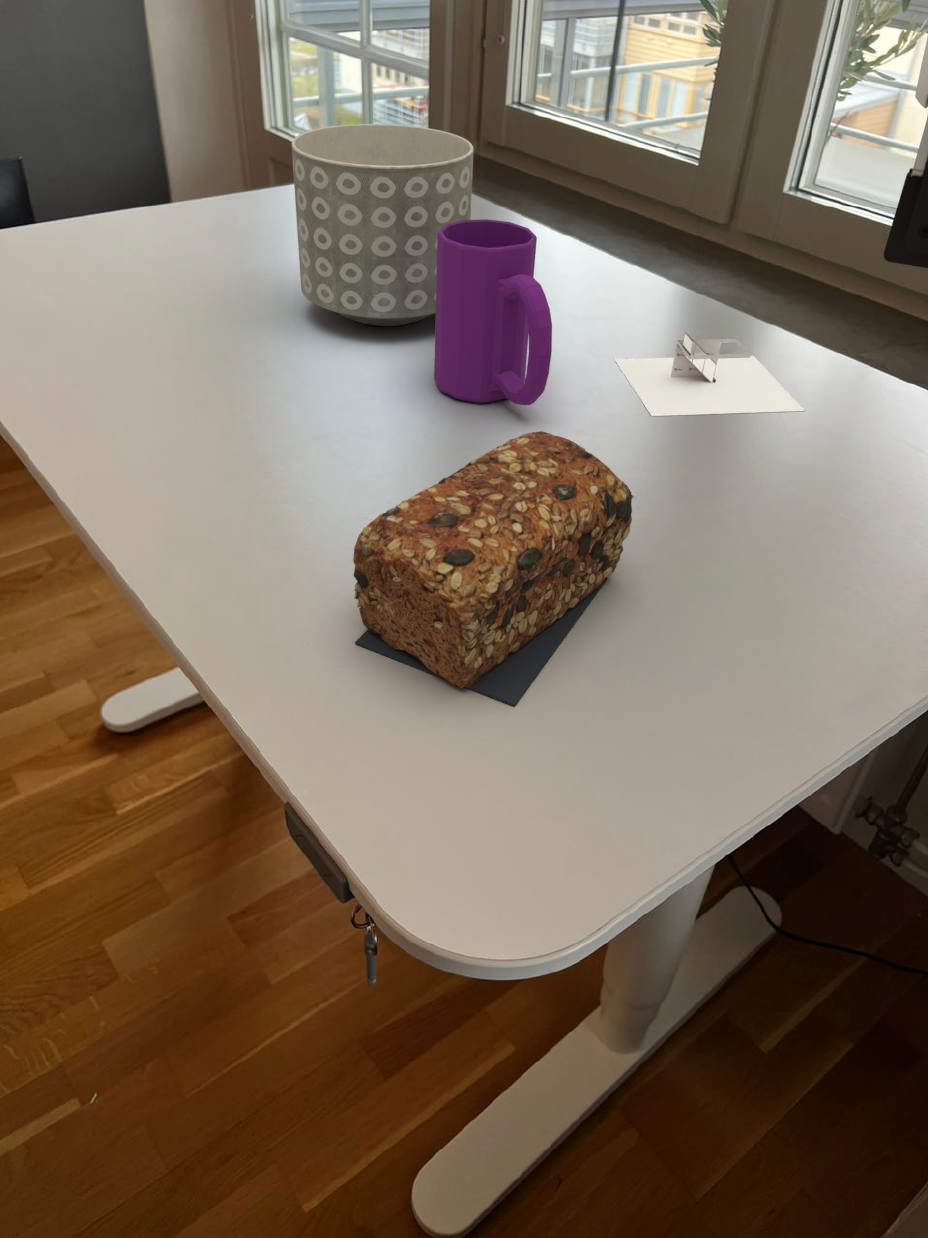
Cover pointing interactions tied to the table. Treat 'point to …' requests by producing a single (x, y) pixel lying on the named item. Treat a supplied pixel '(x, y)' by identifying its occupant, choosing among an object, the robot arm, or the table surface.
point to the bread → (491, 554)
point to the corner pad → (515, 670)
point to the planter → (377, 216)
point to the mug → (490, 314)
